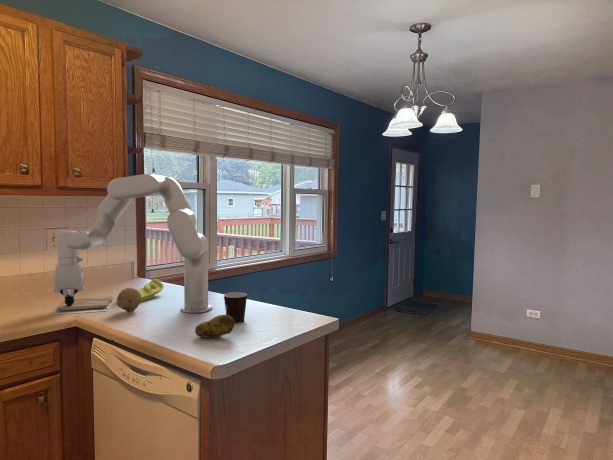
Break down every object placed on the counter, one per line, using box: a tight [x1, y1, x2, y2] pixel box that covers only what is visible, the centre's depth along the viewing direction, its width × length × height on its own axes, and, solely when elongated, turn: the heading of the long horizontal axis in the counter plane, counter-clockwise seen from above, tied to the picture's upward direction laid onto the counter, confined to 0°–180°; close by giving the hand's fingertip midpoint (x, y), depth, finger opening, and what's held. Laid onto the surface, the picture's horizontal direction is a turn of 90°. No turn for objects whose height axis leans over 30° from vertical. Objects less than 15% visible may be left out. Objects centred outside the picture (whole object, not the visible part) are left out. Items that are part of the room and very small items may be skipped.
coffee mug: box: [223, 291, 248, 325], centre depth 160 cm, size 12×9×10 cm
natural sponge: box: [116, 287, 141, 313], centre depth 172 cm, size 9×9×10 cm
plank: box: [57, 301, 109, 311], centre depth 178 cm, size 8×18×1 cm, turn 109°
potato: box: [194, 314, 236, 339], centre depth 142 cm, size 8×13×8 cm, turn 62°
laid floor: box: [53, 296, 113, 316], centre depth 181 cm, size 21×19×1 cm
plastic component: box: [121, 278, 165, 303], centre depth 197 cm, size 20×7×10 cm
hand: (69, 305), depth 176 cm, fingers closed
